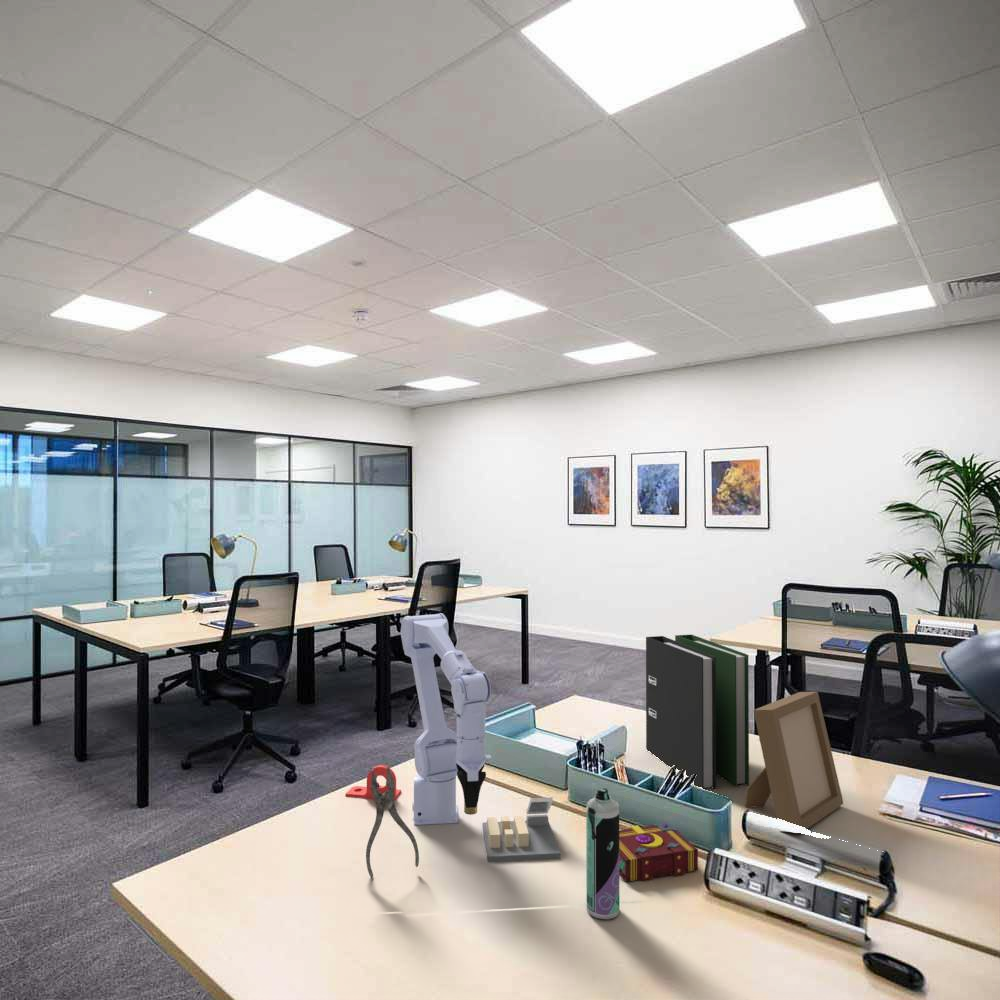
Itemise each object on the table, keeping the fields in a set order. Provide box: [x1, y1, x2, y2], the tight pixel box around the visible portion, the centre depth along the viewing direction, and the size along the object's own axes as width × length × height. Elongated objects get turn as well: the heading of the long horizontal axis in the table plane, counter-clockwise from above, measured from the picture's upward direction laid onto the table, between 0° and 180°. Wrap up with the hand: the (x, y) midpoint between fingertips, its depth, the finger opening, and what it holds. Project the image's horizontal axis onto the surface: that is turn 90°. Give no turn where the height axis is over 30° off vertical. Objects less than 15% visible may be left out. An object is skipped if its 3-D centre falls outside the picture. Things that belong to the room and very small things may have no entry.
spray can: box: [585, 788, 620, 920], centre depth 113 cm, size 6×6×20 cm
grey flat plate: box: [526, 796, 554, 815], centre depth 139 cm, size 4×8×1 cm
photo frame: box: [744, 691, 844, 829], centre depth 150 cm, size 15×22×25 cm
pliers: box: [365, 765, 420, 879], centre depth 123 cm, size 10×1×20 cm, turn 101°
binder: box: [645, 634, 750, 791], centre depth 174 cm, size 27×15×32 cm, turn 15°
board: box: [481, 814, 561, 863], centre depth 135 cm, size 14×14×4 cm
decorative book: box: [619, 821, 699, 883], centre depth 128 cm, size 11×16×5 cm
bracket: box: [345, 764, 402, 802], centre depth 157 cm, size 12×4×8 cm, turn 79°
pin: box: [463, 800, 478, 816], centre depth 134 cm, size 3×3×6 cm
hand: (470, 803), depth 134 cm, fingers closed on pin, 3 cm apart
